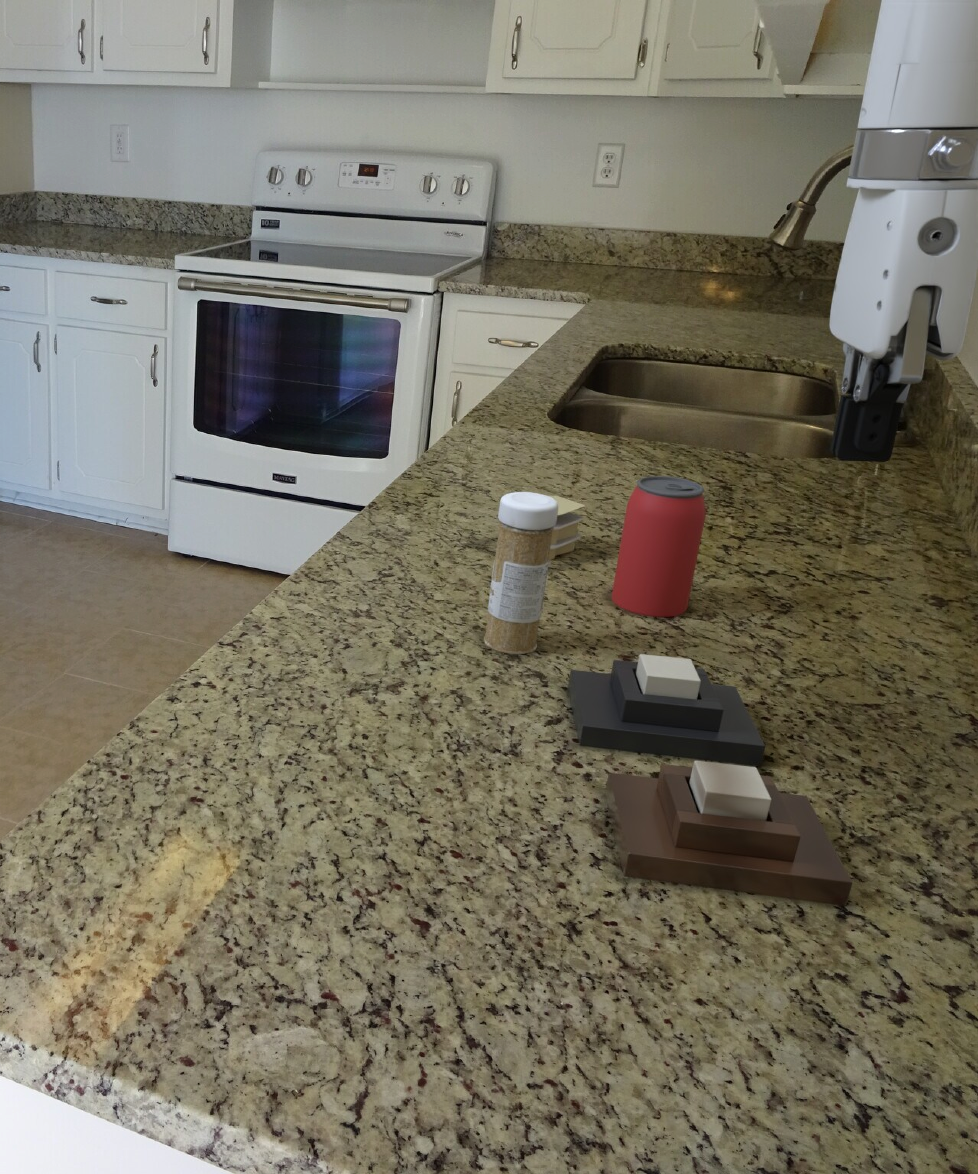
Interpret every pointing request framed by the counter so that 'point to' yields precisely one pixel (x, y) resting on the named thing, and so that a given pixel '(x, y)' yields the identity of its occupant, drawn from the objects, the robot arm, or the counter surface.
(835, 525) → the counter surface
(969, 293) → the robot arm
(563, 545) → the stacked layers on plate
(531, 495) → the tan spice bottle
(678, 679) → the key
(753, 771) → the key
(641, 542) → the beer can
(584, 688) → the grey stepped base
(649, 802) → the brown stepped base
